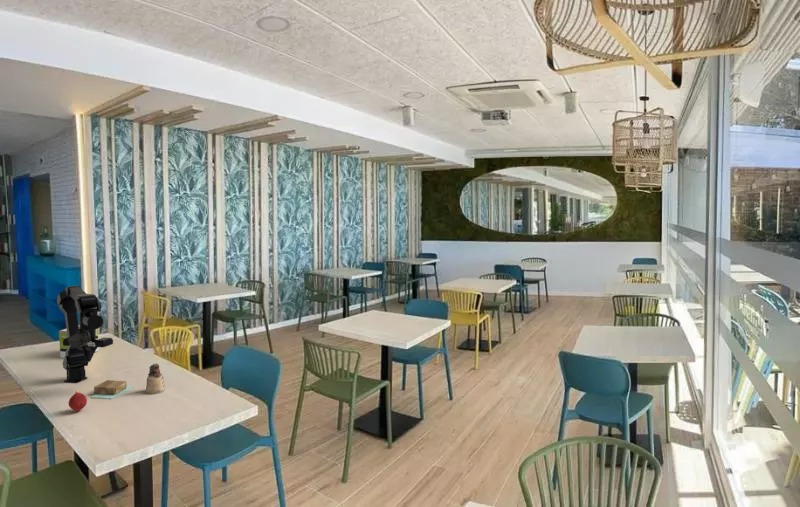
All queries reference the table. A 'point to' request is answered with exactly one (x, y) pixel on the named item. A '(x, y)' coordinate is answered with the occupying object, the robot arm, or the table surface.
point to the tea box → (64, 348)
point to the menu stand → (110, 387)
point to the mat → (111, 395)
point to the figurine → (155, 380)
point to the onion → (77, 401)
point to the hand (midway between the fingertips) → (88, 361)
